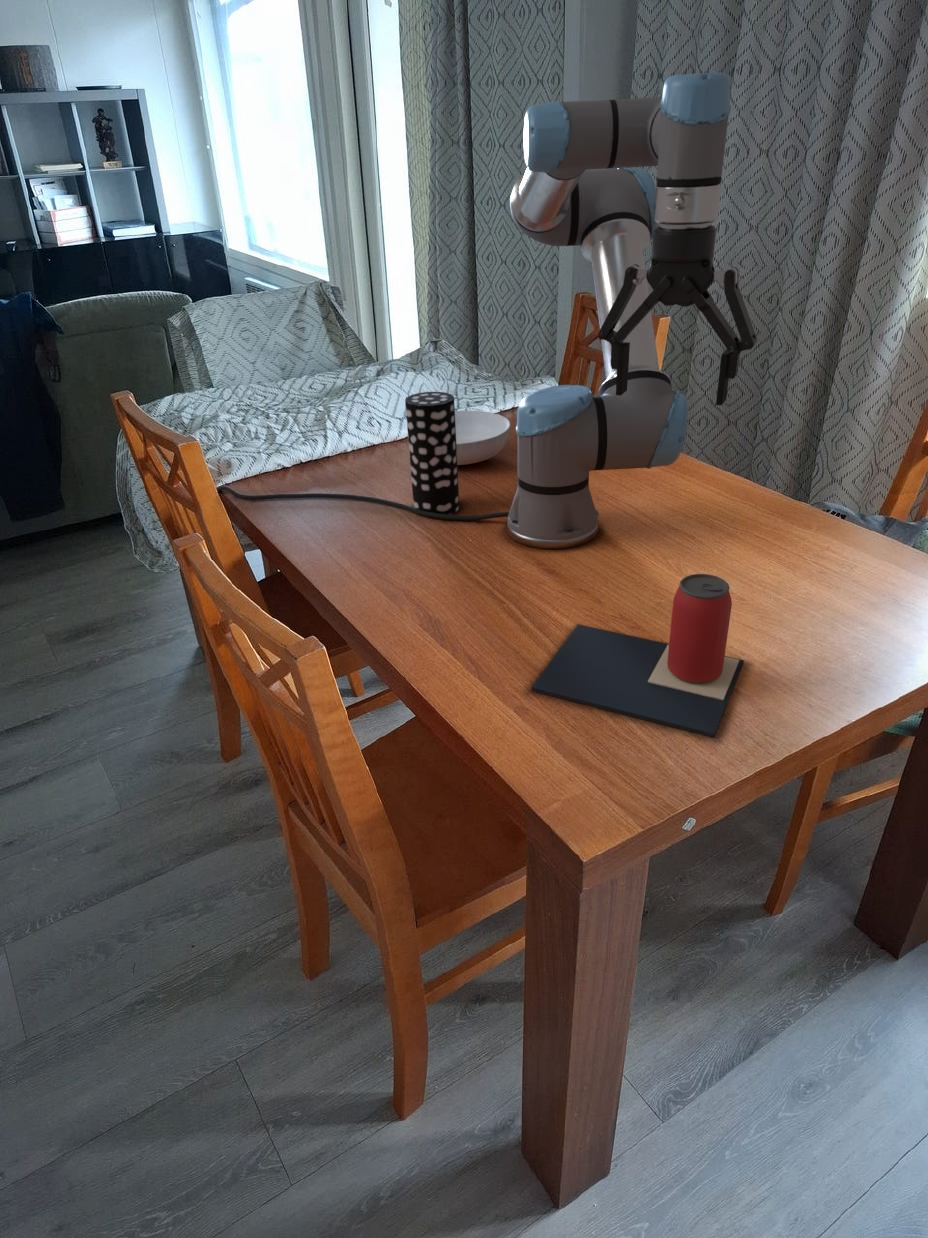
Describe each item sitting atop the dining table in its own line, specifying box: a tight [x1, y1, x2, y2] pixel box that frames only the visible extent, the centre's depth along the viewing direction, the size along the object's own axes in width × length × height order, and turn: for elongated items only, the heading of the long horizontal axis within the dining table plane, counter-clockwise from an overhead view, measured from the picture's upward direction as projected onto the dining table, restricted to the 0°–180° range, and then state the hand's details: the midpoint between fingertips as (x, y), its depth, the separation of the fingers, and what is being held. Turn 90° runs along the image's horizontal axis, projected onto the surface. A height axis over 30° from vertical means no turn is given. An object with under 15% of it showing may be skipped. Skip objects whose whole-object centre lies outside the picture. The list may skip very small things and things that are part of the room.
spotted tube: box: [404, 391, 460, 517], centre depth 145 cm, size 8×8×20 cm
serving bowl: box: [455, 410, 511, 466], centre depth 170 cm, size 21×21×7 cm
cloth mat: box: [530, 624, 745, 739], centre depth 102 cm, size 22×16×1 cm
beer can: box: [667, 573, 733, 683], centre depth 98 cm, size 7×7×12 cm
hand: (669, 397), depth 112 cm, fingers open, 13 cm apart
